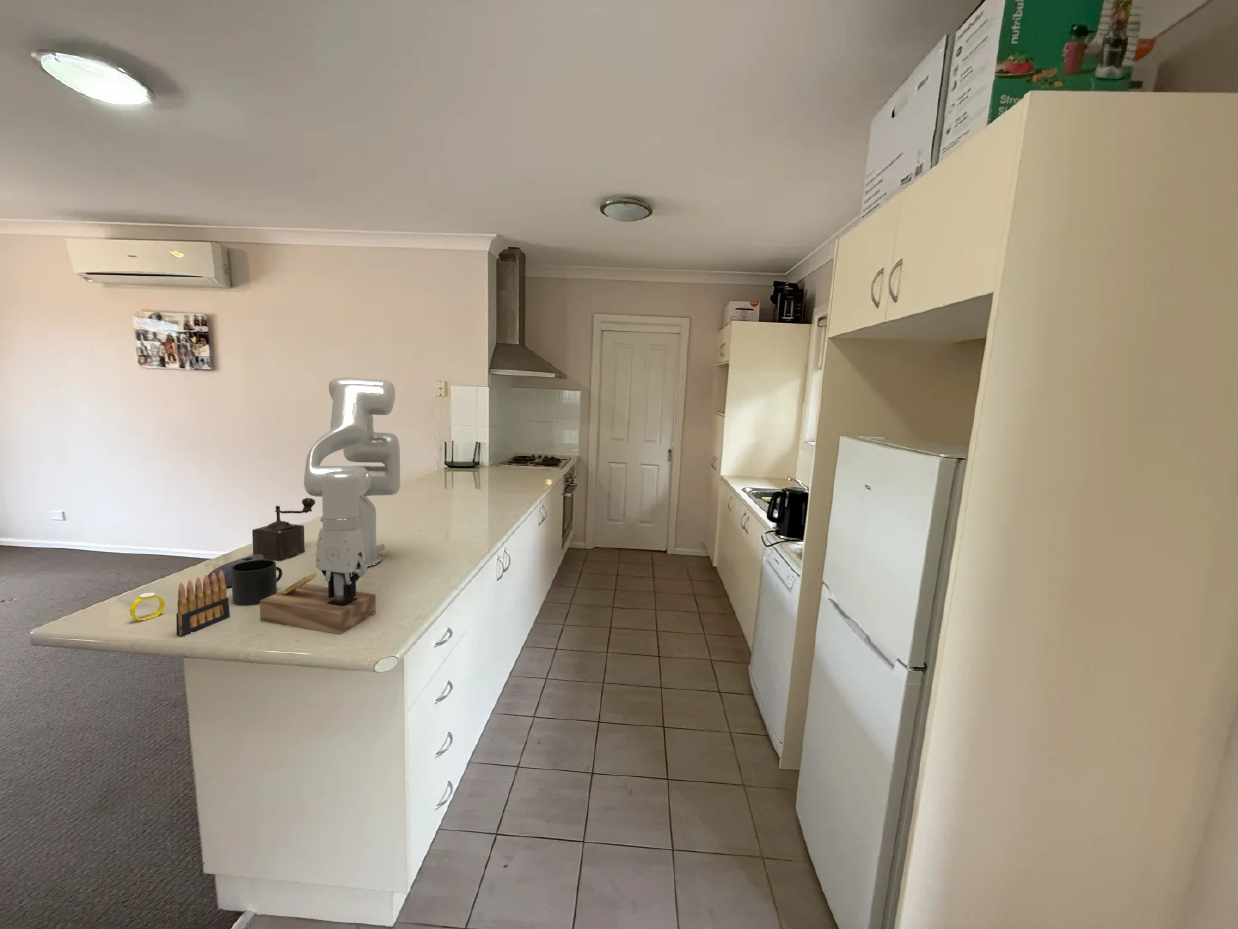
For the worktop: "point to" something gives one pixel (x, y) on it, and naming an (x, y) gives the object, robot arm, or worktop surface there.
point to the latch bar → (299, 583)
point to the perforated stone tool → (227, 567)
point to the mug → (254, 581)
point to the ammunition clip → (202, 604)
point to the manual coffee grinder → (281, 536)
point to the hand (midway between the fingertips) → (342, 596)
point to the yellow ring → (143, 597)
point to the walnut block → (316, 609)
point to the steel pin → (339, 589)
